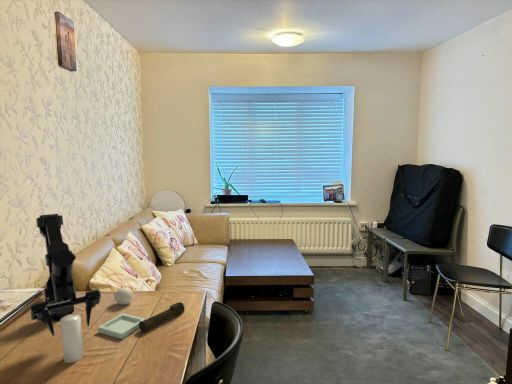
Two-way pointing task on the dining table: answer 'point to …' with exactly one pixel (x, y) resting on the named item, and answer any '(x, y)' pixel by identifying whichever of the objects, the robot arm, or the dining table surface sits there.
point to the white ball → (123, 295)
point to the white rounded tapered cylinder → (71, 338)
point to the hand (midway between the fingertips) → (71, 330)
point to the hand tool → (162, 317)
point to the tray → (120, 326)
